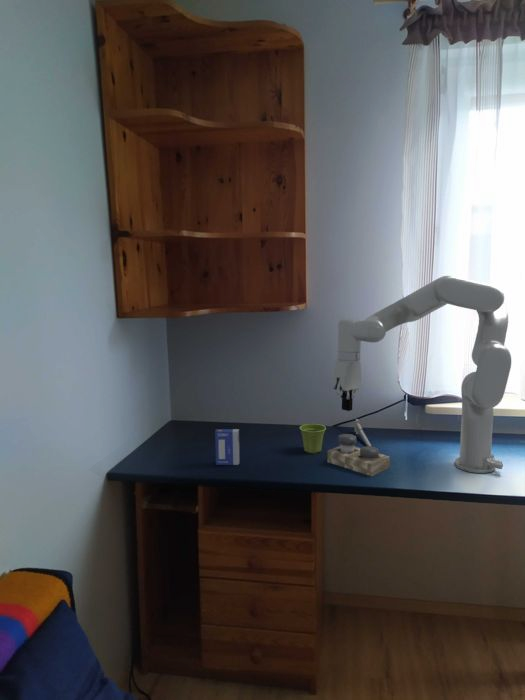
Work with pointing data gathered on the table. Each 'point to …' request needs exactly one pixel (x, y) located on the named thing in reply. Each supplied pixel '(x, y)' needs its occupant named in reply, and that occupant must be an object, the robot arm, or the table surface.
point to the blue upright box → (227, 446)
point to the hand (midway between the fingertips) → (346, 409)
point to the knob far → (347, 443)
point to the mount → (358, 461)
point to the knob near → (369, 453)
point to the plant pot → (312, 437)
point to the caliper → (361, 432)
